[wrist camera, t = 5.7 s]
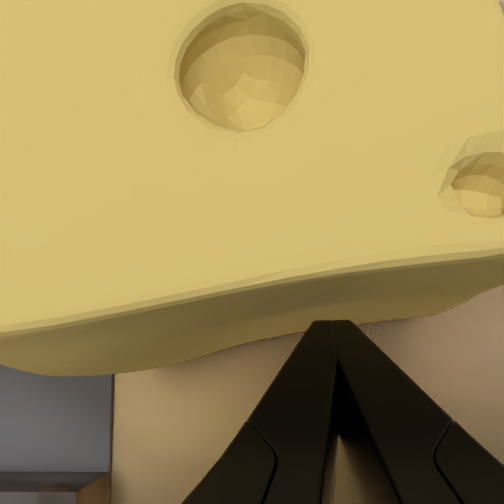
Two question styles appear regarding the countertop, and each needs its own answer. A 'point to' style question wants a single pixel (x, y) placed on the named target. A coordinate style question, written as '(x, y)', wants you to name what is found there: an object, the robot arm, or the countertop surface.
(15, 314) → the cheese
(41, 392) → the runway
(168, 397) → the countertop surface
